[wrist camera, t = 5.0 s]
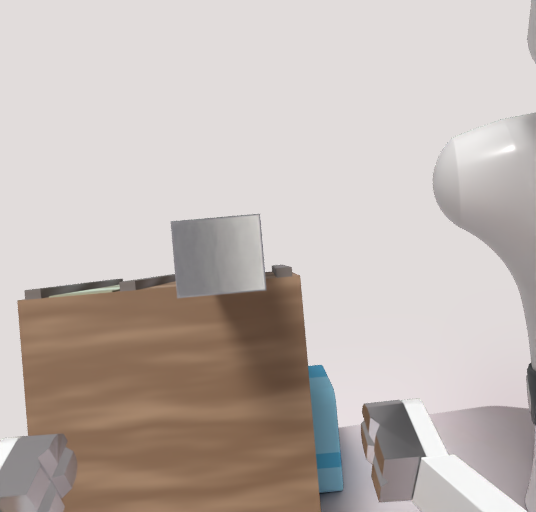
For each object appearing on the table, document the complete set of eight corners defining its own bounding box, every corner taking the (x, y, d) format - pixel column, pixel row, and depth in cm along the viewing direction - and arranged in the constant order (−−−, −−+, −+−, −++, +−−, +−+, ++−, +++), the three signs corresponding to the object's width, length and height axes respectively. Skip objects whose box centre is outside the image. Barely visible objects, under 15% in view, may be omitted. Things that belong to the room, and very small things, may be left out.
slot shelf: (336, 686, 24) (299, 266, 24) (50, 715, 24) (16, 291, 24) (310, 530, 38) (286, 264, 38) (129, 547, 38) (107, 280, 38)
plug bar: (266, 290, 15) (259, 213, 15) (177, 298, 15) (170, 221, 15) (265, 272, 38) (262, 242, 38) (229, 275, 38) (227, 245, 38)
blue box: (344, 497, 43) (335, 390, 43) (304, 500, 43) (295, 393, 43) (328, 445, 55) (321, 361, 55) (297, 448, 55) (290, 364, 55)
